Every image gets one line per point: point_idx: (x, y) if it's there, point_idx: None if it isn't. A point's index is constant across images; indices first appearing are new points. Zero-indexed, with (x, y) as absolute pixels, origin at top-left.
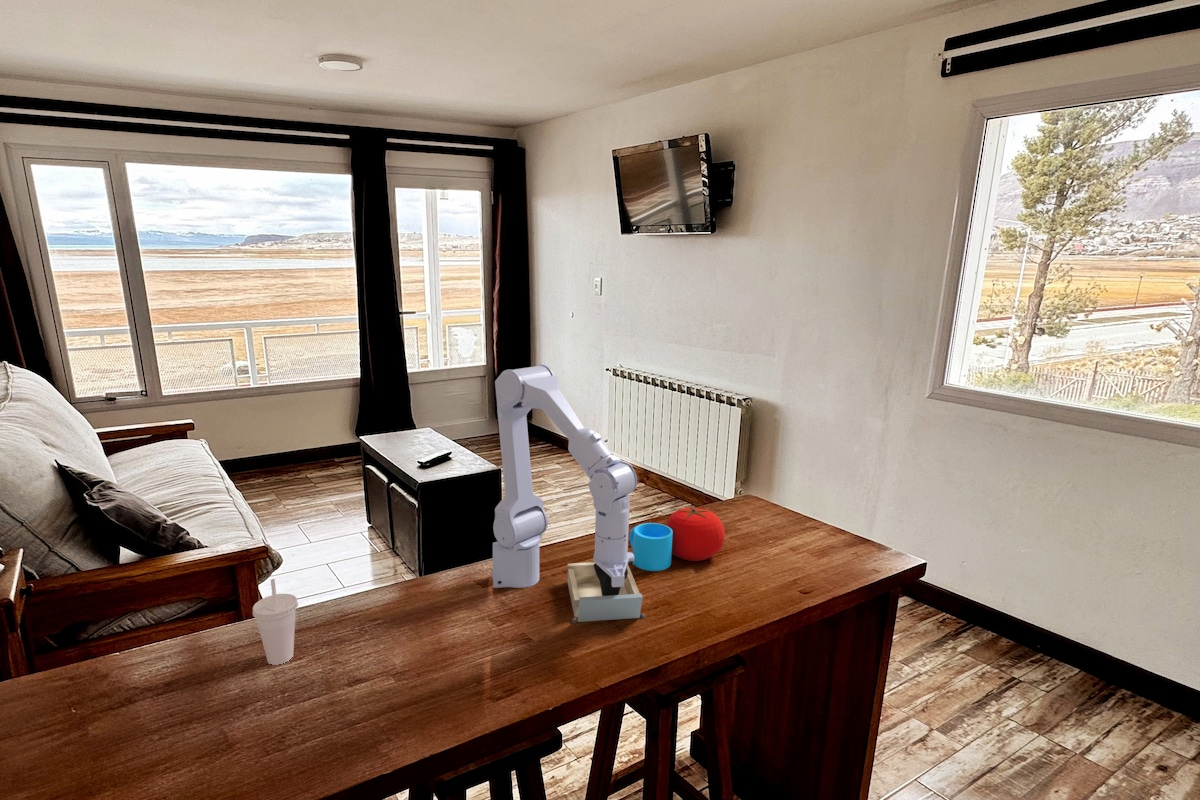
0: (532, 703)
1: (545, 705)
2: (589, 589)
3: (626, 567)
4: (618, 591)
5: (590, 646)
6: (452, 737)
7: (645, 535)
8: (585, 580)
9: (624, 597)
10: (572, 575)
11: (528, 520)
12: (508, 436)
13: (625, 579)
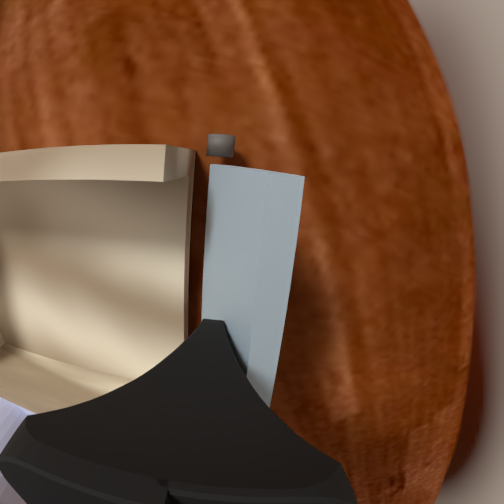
0: (438, 454)
1: (454, 439)
2: (18, 307)
3: (167, 496)
4: (241, 368)
5: (330, 371)
6: (430, 500)
7: None
8: None
9: (277, 317)
10: (9, 395)
11: None
12: None
13: None
